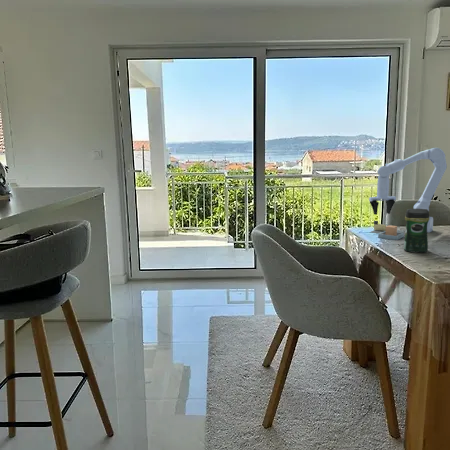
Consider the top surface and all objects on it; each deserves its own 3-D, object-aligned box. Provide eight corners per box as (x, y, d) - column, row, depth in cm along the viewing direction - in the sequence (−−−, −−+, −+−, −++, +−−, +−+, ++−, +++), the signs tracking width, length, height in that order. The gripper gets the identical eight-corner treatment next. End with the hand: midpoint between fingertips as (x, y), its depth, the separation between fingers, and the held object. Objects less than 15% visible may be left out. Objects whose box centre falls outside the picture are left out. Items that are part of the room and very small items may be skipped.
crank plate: (406, 233, 209) (406, 230, 209) (396, 237, 199) (397, 235, 198) (379, 230, 218) (379, 227, 218) (369, 234, 208) (369, 232, 208)
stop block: (396, 238, 195) (397, 226, 194) (393, 239, 192) (394, 227, 191) (388, 237, 198) (388, 225, 197) (385, 238, 195) (385, 226, 194)
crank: (391, 231, 208) (391, 222, 207) (389, 231, 206) (390, 222, 205) (374, 229, 214) (374, 220, 213) (372, 229, 212) (372, 221, 211)
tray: (403, 239, 196) (404, 233, 195) (397, 242, 189) (397, 236, 188) (385, 236, 202) (385, 230, 201) (377, 240, 195) (378, 234, 194)
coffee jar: (426, 249, 175) (429, 207, 172) (428, 253, 168) (431, 210, 165) (402, 247, 179) (405, 207, 175) (403, 252, 172) (405, 209, 168)
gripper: (374, 190, 206) (373, 215, 208) (399, 188, 209) (398, 214, 211) (367, 188, 213) (366, 213, 215) (391, 187, 215) (390, 212, 218)
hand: (381, 214), depth 214 cm, fingers open, 7 cm apart
